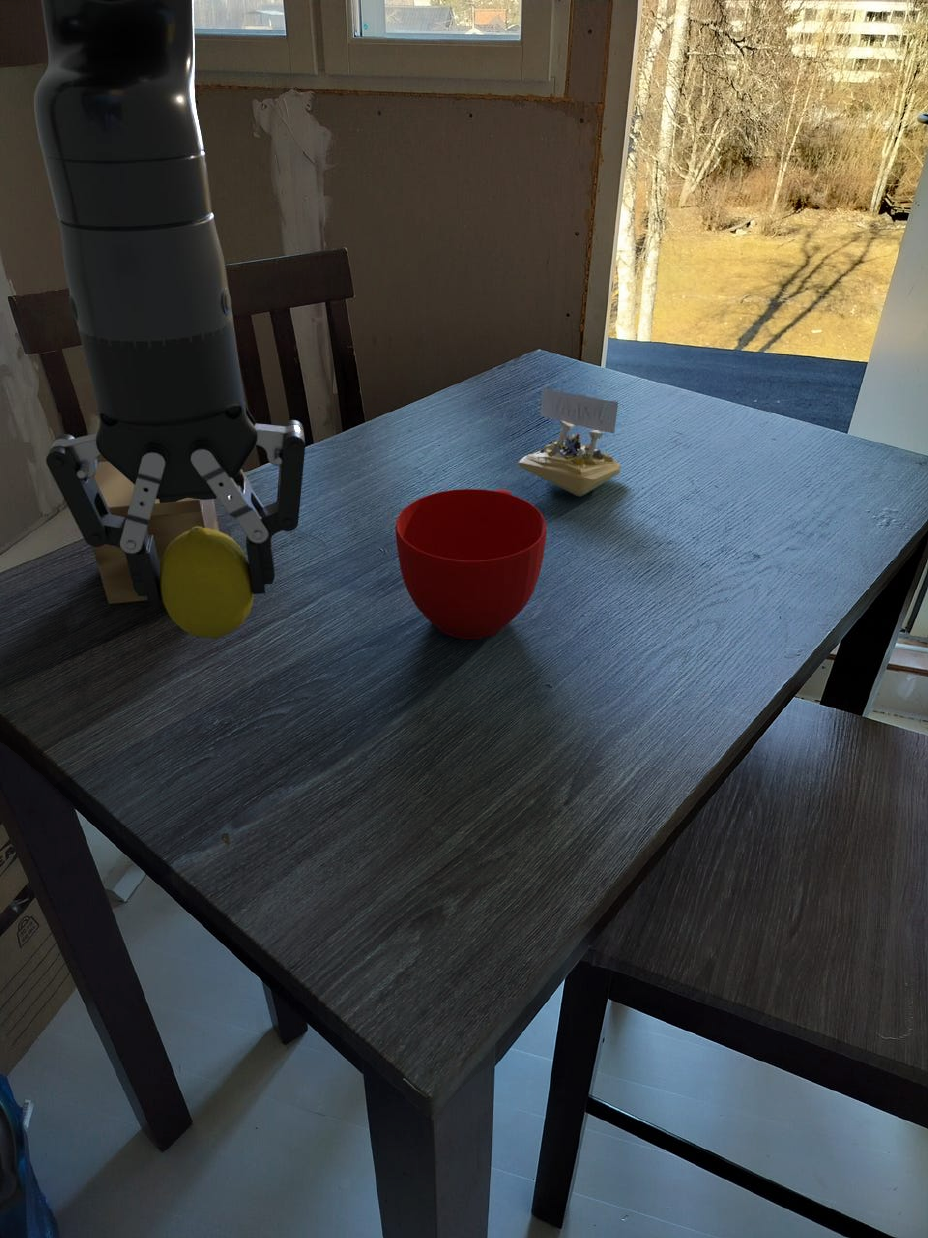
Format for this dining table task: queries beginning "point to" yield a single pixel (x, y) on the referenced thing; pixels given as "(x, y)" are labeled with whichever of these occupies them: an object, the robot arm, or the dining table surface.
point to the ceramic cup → (470, 558)
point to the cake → (575, 443)
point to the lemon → (206, 583)
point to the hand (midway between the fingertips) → (208, 591)
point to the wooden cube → (162, 525)
